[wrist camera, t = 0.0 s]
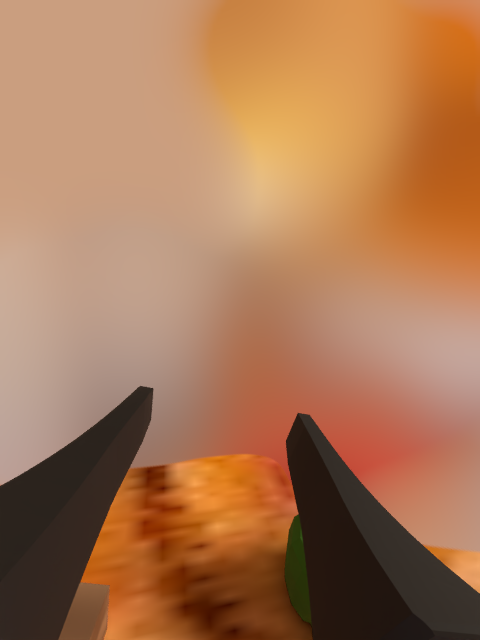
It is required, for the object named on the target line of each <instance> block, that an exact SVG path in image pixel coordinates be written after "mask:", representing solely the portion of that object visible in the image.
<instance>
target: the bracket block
mask: <svg viewBox="0 0 480 640" xmlns="http://www.w3.org/2000/svg"><path fill="white" fill-rule="evenodd" d="M109 586H110V585H100V584H90V583H80V584H79V586H78V589H77V591H76V594H75V597H74V599H73V602H72V604H71V607H70V610H69V612H68V615H67V618H66V620H65V623H64V626H63V629H62V631H61V634H60V637H59V639H58V640H103V639H104V636H105V633H106V630H107V622H108V604H109Z"/></svg>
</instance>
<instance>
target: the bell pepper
mask: <svg viewBox="0 0 480 640" xmlns="http://www.w3.org/2000/svg"><path fill="white" fill-rule="evenodd" d="M285 581H286V585H287V589H288V593H289V597H290V601H291V604H292V606H293V607H294V608H295V610H296V611H297V613H298V614H299V615H300V617H301V618H302V620H303V621H305V622H308V623H310V624H311V626H312V622H311V611H310V600H309V589H308V580H307V571H306V562H305V553H304V545H303V538H302V530H301V524H300V518H299V514H298V515H297V516H295V517H294V519H293V522H292V524H291V527H290V529H289V535H288V543H287V551H286V561H285Z"/></svg>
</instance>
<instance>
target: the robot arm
mask: <svg viewBox="0 0 480 640" xmlns="http://www.w3.org/2000/svg"><path fill="white" fill-rule="evenodd" d="M152 399H153V388H148V387H143V386H140V387H138V388H137V389H136V390H135V391H134V392H133V393H132V394H131V395H130V396H128V397H127V398H126V399H125V400H124V401H123V402H122V403H121V404H120V405H118V406H117V407H116V408H115V409H114V410H113V411H111V412H110V413H109V414H108V415H107V416H105V417H104V418H103V419H102V420H100V421H99V422H98V423H97V424H95V425H94V426H93V427H91V428H90V429H89V430H87V431H86V432H85V433H83V434H82V435H81V436H79V437H78V438H77V439H75V440H74V441H73V442H71V443H70V444H68V445H67V446H65V447H64V448H62V449H61V450H59V451H58V452H56V453H55V454H53V455H52V456H50V457H49V458H47V459H45V460H44V461H42V462H41V463H39V464H37V465H36V466H34V467H33V468H31V469H29V470H28V471H26V472H24V473H23V474H21V475H19V476H18V477H16V478H14V479H12V480H10V481H9V482H7V483H5V484H3V485H1V486H0V640H58V639H59V637H60V634H61V631H62V629H63V626H64V623H65V620H66V618H67V615H68V612H69V610H70V607H71V604H72V602H73V599H74V597H75V594H76V591H77V589H78V586H79V584H80V581H81V579H82V576H83V573H84V571H85V568H86V566H87V563H88V561H89V558H90V556H91V553H92V551H93V548H94V546H95V543H96V541H97V538H98V536H99V533H100V531H101V528H102V526H103V523H104V521H105V518H106V516H107V514H108V511H109V509H110V506H111V504H112V502H113V500H114V498H115V495H116V493H117V491H118V489H119V487H120V485H121V483H122V481H123V479H124V477H125V475H126V473H127V471H128V469H129V468H130V465H131V464H132V461H133V460H134V458H135V456H136V454H137V452H138V450H139V448H140V445H141V444H142V442H143V439H144V437H145V434H146V431H147V429H148V426H149V423H150V421H151V412H152ZM286 448H287V458H288V465H289V471H290V476H291V480H292V485H293V490H294V495H295V499H296V504H297V509H298V513H299V518H300V524H301V530H302V538H303V545H304V553H305V562H306V571H307V580H308V589H309V600H310V611H311V622H312V635H313V640H480V594H479V593H478V592H477V591H476V590H474V589H473V588H472V587H471V586H470V585H468V584H467V583H466V582H465V581H464V580H462V579H461V578H460V577H459V576H458V575H456V574H455V573H454V572H453V571H451V570H450V569H449V568H448V567H447V566H445V565H444V564H443V563H442V562H441V561H440V560H439V559H437V558H436V557H435V556H434V555H433V554H432V553H431V552H430V551H429V550H427V549H426V548H425V547H424V546H423V545H422V544H421V543H420V542H419V541H417V540H416V539H415V538H414V537H413V536H412V535H411V534H410V533H409V532H408V531H407V530H406V529H405V528H404V527H403V526H401V524H400V523H399V522H398V521H397V520H396V519H395V518H394V517H393V516H391V514H390V513H389V512H387V510H386V509H385V508H384V507H383V506H382V505H381V504H380V503H379V502H378V501H377V500H376V499H375V498H374V496H373V495H372V494H371V493H370V492H369V491H368V490H367V489H366V488H365V487H364V485H363V484H361V482H360V481H359V480H358V478H357V477H356V476H355V475H354V474H353V472H352V471H351V470H350V469H349V468H348V466H347V465H346V464H345V462H344V461H343V460H342V459H341V457H340V456H339V455H338V453H337V452H336V451H335V449H334V448H333V447H332V445H331V444H330V443H329V441H328V440H327V439H326V437H325V436H324V435H323V433H322V432H321V430H320V429H319V427H318V426H317V425H316V423H315V422H314V420H313V419H312V418H311V417H310V415H307V414H301V413H298V414H297V416H296V419H295V421H294V423H293V426H292V428H291V431H290V433H289V435H288V437H287V440H286Z"/></svg>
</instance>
